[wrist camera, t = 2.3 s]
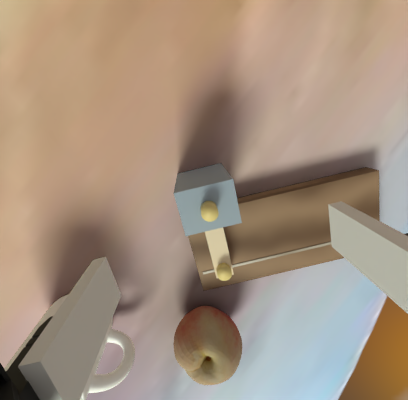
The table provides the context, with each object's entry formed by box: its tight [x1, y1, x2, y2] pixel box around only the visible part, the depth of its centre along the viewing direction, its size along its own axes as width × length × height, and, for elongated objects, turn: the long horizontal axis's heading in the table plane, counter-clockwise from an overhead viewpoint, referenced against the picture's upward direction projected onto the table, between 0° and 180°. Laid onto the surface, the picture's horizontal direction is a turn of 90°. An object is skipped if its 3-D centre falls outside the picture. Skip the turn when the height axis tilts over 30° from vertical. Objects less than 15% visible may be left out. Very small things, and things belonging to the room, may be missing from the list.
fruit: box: [174, 306, 242, 385], centre depth 31 cm, size 8×8×8 cm
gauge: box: [174, 163, 242, 281], centre depth 25 cm, size 12×5×9 cm, turn 13°
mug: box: [4, 294, 135, 400], centre depth 28 cm, size 12×8×10 cm
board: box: [188, 167, 379, 291], centre depth 30 cm, size 10×22×2 cm, turn 103°
